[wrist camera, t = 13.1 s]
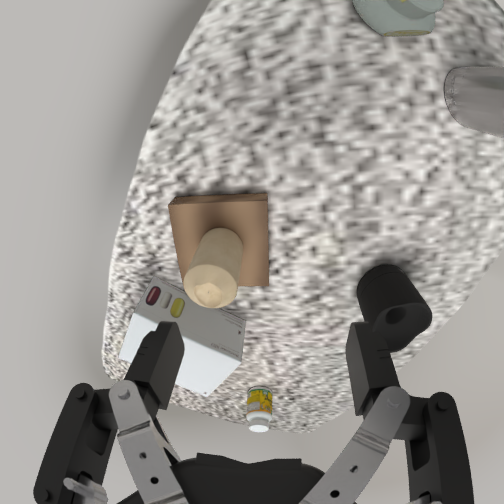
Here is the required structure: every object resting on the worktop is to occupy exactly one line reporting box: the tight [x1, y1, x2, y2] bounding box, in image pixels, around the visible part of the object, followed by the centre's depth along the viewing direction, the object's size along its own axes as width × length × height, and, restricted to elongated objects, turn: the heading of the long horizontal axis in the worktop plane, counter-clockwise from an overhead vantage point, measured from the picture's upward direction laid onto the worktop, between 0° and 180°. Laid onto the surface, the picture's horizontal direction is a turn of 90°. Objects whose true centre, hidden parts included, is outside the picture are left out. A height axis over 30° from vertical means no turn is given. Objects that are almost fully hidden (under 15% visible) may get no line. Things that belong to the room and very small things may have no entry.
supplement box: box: [118, 276, 246, 397], centre depth 42 cm, size 17×13×9 cm
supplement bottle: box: [246, 386, 272, 432], centre depth 52 cm, size 5×5×10 cm
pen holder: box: [357, 265, 432, 353], centre depth 36 cm, size 9×9×10 cm
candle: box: [183, 228, 243, 308], centre depth 31 cm, size 6×6×10 cm
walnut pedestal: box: [168, 193, 269, 286], centre depth 36 cm, size 12×12×3 cm
